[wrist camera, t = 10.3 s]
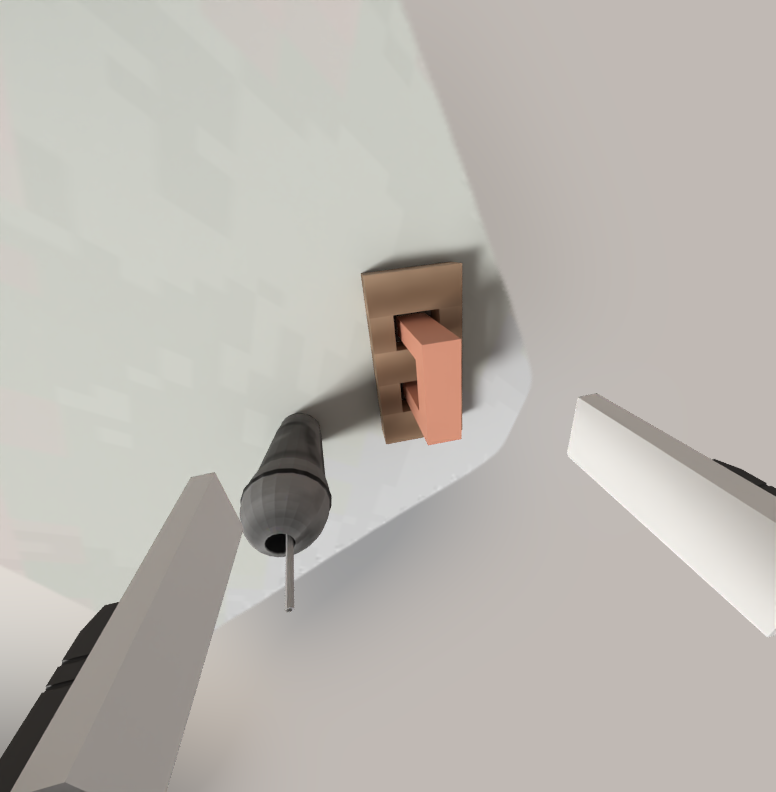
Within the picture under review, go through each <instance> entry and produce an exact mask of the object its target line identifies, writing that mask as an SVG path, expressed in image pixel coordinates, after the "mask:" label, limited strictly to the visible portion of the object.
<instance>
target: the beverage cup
mask: <svg viewBox="0 0 776 792" xmlns="http://www.w3.org/2000/svg"><path fill="white" fill-rule="evenodd" d="M330 508H331V493H330V491H329V487H328V483H327V480H326V478H325V470H324V459H323V448H322V438H321V433H320V427H319V424H318V422H317V421H316V420H315V419H314V418H313V417H311V416H309V415H306V414H293V415H290V416H289V417H287V418H285V420H284V421H283V422H282V424H281V426H280V428H279V429H278V430H277V432H276V435H275V437H274V439H273V441H272V443H271V445H270V447H269V449H268V451H267V453H266V455H265V457H264V460H263V462H262V464H261V466H260V468H259V470H258V471H257V473H256V474H255V475H254V476H253V478H252V479H251V481H250V482H249V484H248V485H247V486H246V487H245V488H244V490H243V494H242V497H241V507H240V520H241V524H242V526H243V533H244V535H245V537H246V538H247V540H248V542H249V543H250V544H251V545H252V546H253V547H254V548H255V549H257V550H258V551H259V552H261V553H263V554H266V555H269V556H274V557H285V556H286V582H285V611H286V612H287V613H290V612H292V611H293V610H294V554H296V553H299V552H300V551H302V550H304V549H306V548H307V547H308V546H310V545H311V544H312V543H313V542H314V541H315V540H316V539H317V538H318V536H319V535H320V534H321V532H322V530H323V528H324V526H325V524H326V521H327V519H328V515H329V511H330Z"/></svg>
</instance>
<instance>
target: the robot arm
mask: <svg viewBox="0 0 776 792" xmlns="http://www.w3.org/2000/svg"><path fill="white" fill-rule="evenodd" d="M567 456H568V457H569V458H571V459H572V460H573V461H574V462H575V463H576V464H577V465H578V466H580V468H582V469H583V470H584V471H585V472H586V473H587V474H588V475H589V476H590V477H592V478H593V479H594V480H595V481H596V482H597V483H598V484H599V485H600V486H602V488H604V489H605V490H606V491H607V492H608V493H609V494H610V495H611V496H612V497H613V498H615V499H616V500H617V501H618V502H619V503H620V504H621V505H622V506H623V507H624V508H626V509H627V510H628V511H629V512H630V513H631V514H632V515H634V517H636V518H637V519H638V520H639V521H640V522H641V523H642V524H643V525H644V526H645V527H647V528H648V529H649V530H650V531H651V532H652V533H653V534H654V535H655V536H656V537H658V538H659V539H660V540H661V541H662V542H663V543H664V544H665V545H666V546H668V547H669V548H670V549H671V550H672V551H673V552H674V553H675V554H676V555H677V556H678V557H680V558H681V559H682V560H683V561H684V562H685V563H686V564H687V565H688V566H690V567H691V568H692V569H693V570H694V571H695V572H696V573H697V574H698V575H699V576H700V577H702V578H703V579H704V580H705V581H706V582H707V583H708V584H709V585H710V586H711V587H713V588H714V589H715V590H716V591H717V592H718V593H719V594H720V595H721V596H722V597H724V598H725V599H726V600H727V601H728V602H729V603H730V604H731V605H732V606H733V607H735V608H736V609H737V610H738V611H739V612H740V613H741V614H742V615H743V616H744V617H746V618H747V619H748V620H749V621H750V622H751V623H752V624H753V625H754V626H755V627H757V628H758V629H759V630H760V631H761V632H762V633H763V634H764V635H766V636H767V637H770V636H774V635H776V488H774V487H772V486H767V485H766V483H765V482H763V481H762V480H760V479H758V478H756V477H754V476H753V475H751V474H749V473H747V472H746V471H744V470H742V469H739V468H737V467H734V466H731V465H729V464H726V463H724V462H721V461H718V460H715V459H713V460H711V459H709V458H708V457H706V456H705V455H703V454H701V453H699V452H698V451H696V450H694V449H692V448H691V447H689V446H687V445H685V444H684V443H682V442H680V441H679V440H677V439H675V438H673V437H672V436H670V435H668V434H666V433H665V432H663V431H661V430H659V429H658V428H656V427H654V426H653V425H651V424H649V423H647V422H645V421H644V420H642V419H640V418H639V417H637V416H635V415H633V414H632V413H630V412H628V411H626V410H625V409H623V408H621V407H620V406H618V405H616V404H614V403H613V402H611V401H609V400H608V399H606V398H604V397H602V396H600V395H599V394H597V393H596V394H591V395H586V396H581V397H578V399H577V405H576V410H575V415H574V420H573V425H572V430H571V436H570V441H569V446H568V451H567ZM242 532H243V526H242V524H241V522H240V520H239V518H238V516H237V514H236V512H235V510H234V508H233V506H232V504H231V502H230V501H229V499H228V497H227V495H226V493H225V491H224V489H223V487H222V485H221V483H220V481H219V479H218V477H217V475H216V474H215V472H214V473H209V474H204V475H199V476H195V477H191V478H190V480H189V482H188V483H187V485H186V487H185V489H184V490H183V492H182V494H181V495H180V497H179V499H178V501H177V502H176V504H175V506H174V508H173V509H172V511H171V513H170V515H169V516H168V518H167V520H166V522H165V523H164V525H163V527H162V529H161V530H160V532H159V534H158V536H157V537H156V539H155V541H154V543H153V544H152V546H151V548H150V549H149V551H148V553H147V555H146V556H145V558H144V560H143V562H142V563H141V565H140V567H139V569H138V570H137V572H136V574H135V576H134V577H133V579H132V581H131V583H130V584H129V586H128V588H127V590H126V591H125V593H124V595H123V597H122V598H121V600H120V602H117V603H113V604H109V605H105V606H104V607H103V608H102V609H101V610H100V611H99V612H98V613H97V614H96V615H95V616H94V618H93V619H92V620H91V621H90V622H89V623H88V624H87V625H86V626H85V627H84V628H83V630H81V631H80V633H79V635H78V636H77V638H76V639H75V641H74V643H73V644H72V646H71V647H70V649H69V650H68V652H67V654H66V655H65V657H64V658H63V660H62V665H61V666H60V667H58V668H57V670H56V671H55V673H54V674H53V676H52V677H51V679H50V681H49V682H48V684H47V685H46V691H45V692H44V693H41V695H40V697H39V698H38V700H37V701H36V703H35V704H34V706H33V708H32V709H31V711H30V713H29V714H28V716H27V717H26V719H25V721H24V722H23V723H22V725H21V727H20V728H19V730H18V732H17V733H16V735H15V736H14V738H13V739H12V741H11V743H10V744H9V746H8V747H7V749H6V751H5V752H4V754H3V755H2V757H1V758H0V792H167V788H168V785H169V782H170V778H171V775H172V771H173V768H174V765H175V761H176V758H177V754H178V751H179V747H180V744H181V740H182V737H183V733H184V730H185V726H186V723H187V720H188V716H189V713H190V710H191V706H192V703H193V699H194V696H195V693H196V689H197V686H198V682H199V679H200V675H201V672H202V668H203V665H204V662H205V658H206V655H207V651H208V648H209V645H210V641H211V638H212V634H213V631H214V628H215V624H216V621H217V617H218V614H219V610H220V607H221V604H222V600H223V597H224V593H225V590H226V586H227V583H228V580H229V576H230V573H231V569H232V566H233V562H234V559H235V556H236V552H237V549H238V545H239V542H240V538H241V535H242Z"/></svg>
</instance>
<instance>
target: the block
mask: <svg viewBox="0 0 776 792" xmlns="http://www.w3.org/2000/svg"><path fill="white" fill-rule="evenodd" d="M396 324H397V334H398V337H399V338H400V339H401V341H402V342H403V343H404V345H405V346H406V347H407V349H408V350H409V351H410V353H411V354H412V355H413V357H414V358H415V359H416V371H417V380H416V381H410V382H404V383H402V386H403V394H404V396H405V399H406V401H407V403H408V405H409V407H410V409H411V411H412V413H413V415H414V417H415V419H416V421H417V423H418V425H419V427H420V430H421V432H422V434H423V436H424V438H425V440H426V442H427V444H428V445H432V444H437V443H443V442H448V441H453V440H459V439H461V338H459V337H458V336H456V335H455V334H454V333H452V332H451V331H449V330H448V329H447V328H445V327H444V326H442V325H441V324H439V323H438V322H437V321H435V320H434V319H432V318H431V317H430V316H428V315H427V314H425V313H424V312H423V313H416V314H409V315H403V316H396Z"/></svg>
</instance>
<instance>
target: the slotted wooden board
mask: <svg viewBox="0 0 776 792" xmlns="http://www.w3.org/2000/svg"><path fill="white" fill-rule="evenodd" d="M361 278H362V286H363V293H364V300H365V307H366V314H367V322H368V329H369V336H370V343H371V351H372V358H373V365H374V372H375V380H376V387H377V394H378V401H379V408H380V416H381V423H382V430H383V434H384V438H385V441H386V444H390V443H396V442H401V441H406V440H412V439H417V438H422V437H424V436H423V434H422V432H421V430H420V427H419V425H418V423H417V421H416V419H415V417H414V415H413V413H412V411H411V409H410V407H409V405H408V403H407V401H406V399H401V389H400V383H404V382H410V381H416V380H417V371H416V359H415V358H414V357H413V355H412V354H411V353H410V351H409V350H408V349H407V347H406V346H405V345H404V343H403V342H402V341H399V342H396V339H395V329H394V319H393V315H400V314H407V313H413V312H420V311H427V310H431V318H432V319H434V320H435V321H437V322H438V323H439V324H441V325H442V326H444V327H445V328H447V329H448V330H449V331H451V332H452V333H454V334H455V335H456V336H458V337H459V338H461V430H462V263H458V262H444V263H437V264H429V265H421V266H414V267H406V268H398V269H391V270H383V271H375V272H368V273H361Z"/></svg>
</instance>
